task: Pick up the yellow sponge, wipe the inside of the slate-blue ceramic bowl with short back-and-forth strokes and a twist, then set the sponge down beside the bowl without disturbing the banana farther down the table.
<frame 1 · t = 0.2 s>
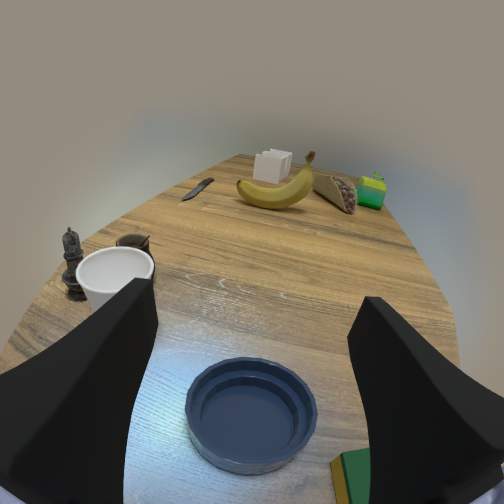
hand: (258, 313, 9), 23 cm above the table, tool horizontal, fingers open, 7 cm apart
banana: (269, 208, 86), on the table
storage container: (272, 176, 125), on the table
mate gourd: (137, 282, 45), on the table
taco: (331, 201, 104), on the table
bowl: (247, 424, 26), on the table
chess piece: (82, 292, 40), on the table
leaf-topped green cube: (367, 204, 109), on the table
sponge: (353, 485, 19), on the table
knife: (199, 190, 93), on the table
cup: (126, 332, 35), on the table
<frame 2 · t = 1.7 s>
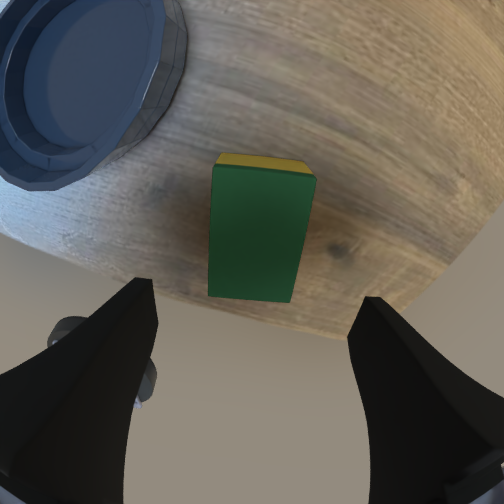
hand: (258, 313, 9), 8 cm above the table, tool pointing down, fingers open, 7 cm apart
bowl: (84, 66, 11), on the table
sponge: (255, 214, 16), on the table
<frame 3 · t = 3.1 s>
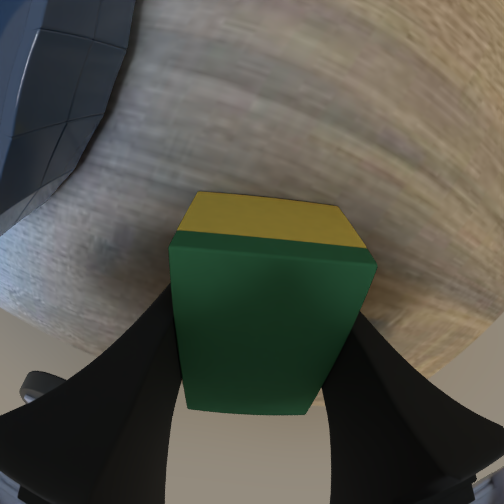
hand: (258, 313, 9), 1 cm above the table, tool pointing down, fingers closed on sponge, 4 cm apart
bowl: (4, 65, 5), on the table
sponge: (257, 287, 10), on the table, touching gripper
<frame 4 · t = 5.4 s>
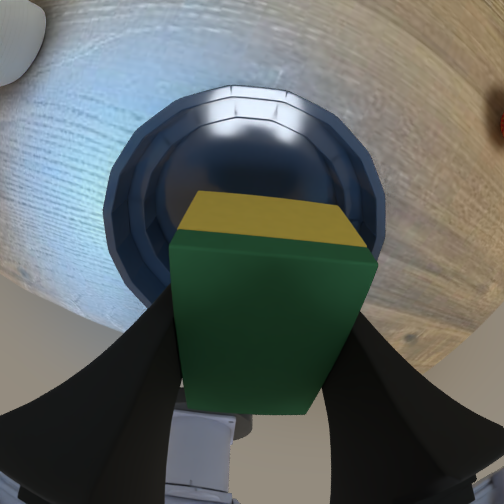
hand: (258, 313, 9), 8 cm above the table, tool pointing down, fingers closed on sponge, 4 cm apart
fruit: (501, 121, 12), on the table
bowl: (245, 205, 16), on the table
sponge: (257, 286, 10), point 7 cm above the table, touching gripper
cup: (21, 44, 9), on the table
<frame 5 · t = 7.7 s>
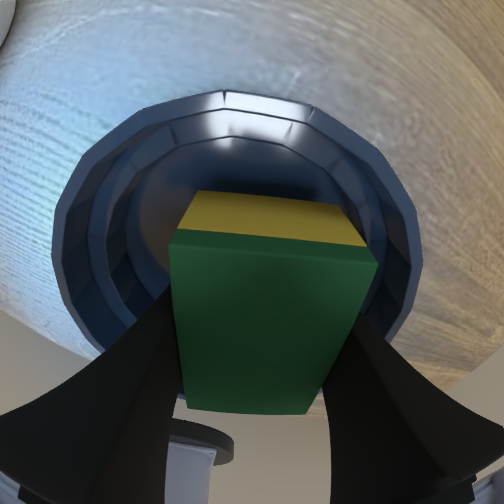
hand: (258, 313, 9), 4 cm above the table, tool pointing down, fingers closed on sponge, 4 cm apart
bowl: (236, 246, 13), on the table
sponge: (257, 286, 10), point 3 cm above the table, touching gripper
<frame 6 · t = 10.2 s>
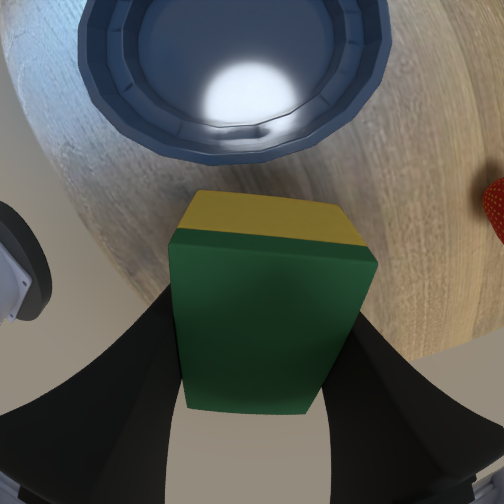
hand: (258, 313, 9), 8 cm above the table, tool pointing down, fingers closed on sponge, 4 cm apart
fruit: (486, 192, 15), on the table
bowl: (234, 34, 11), on the table
sponge: (257, 285, 10), point 7 cm above the table, touching gripper
when the fingers open (1 cm above the table, at t = 12.5 s): sponge stays where it is, on the table.
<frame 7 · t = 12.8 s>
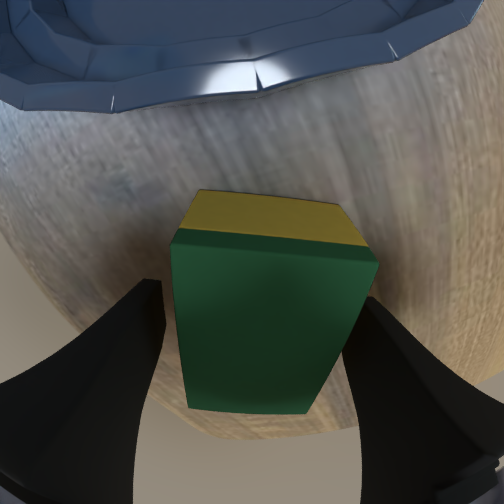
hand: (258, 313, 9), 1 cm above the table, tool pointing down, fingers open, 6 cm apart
sponge: (258, 285, 10), on the table
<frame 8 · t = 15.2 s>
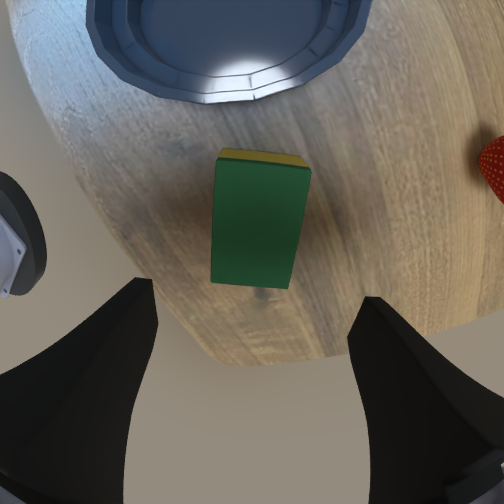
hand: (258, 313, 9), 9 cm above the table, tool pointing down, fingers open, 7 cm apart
fruit: (482, 156, 15), on the table
bowl: (229, 3, 11), on the table
sponge: (255, 206, 17), on the table
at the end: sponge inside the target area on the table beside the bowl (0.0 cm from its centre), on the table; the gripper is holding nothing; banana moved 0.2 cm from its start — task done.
